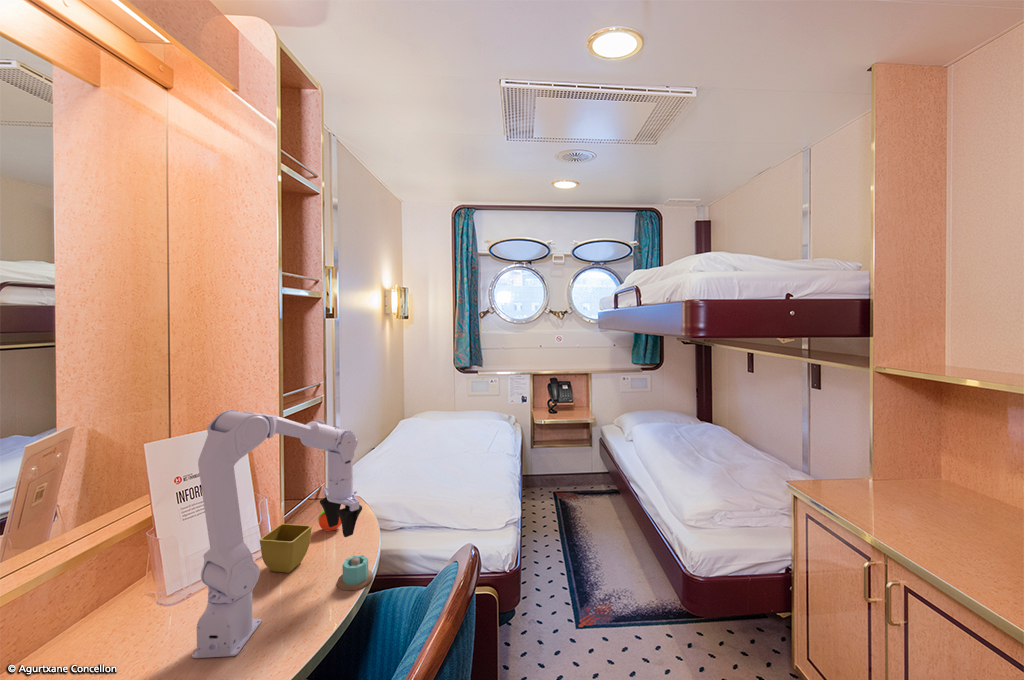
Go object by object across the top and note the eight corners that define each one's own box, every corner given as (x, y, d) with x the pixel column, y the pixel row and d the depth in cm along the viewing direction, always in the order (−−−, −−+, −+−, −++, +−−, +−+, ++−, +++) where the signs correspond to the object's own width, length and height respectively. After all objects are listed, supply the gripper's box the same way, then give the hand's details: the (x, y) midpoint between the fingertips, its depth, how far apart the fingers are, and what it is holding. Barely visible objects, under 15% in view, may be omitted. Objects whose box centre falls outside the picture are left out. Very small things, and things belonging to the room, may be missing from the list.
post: (368, 590, 97) (367, 568, 97) (332, 591, 97) (332, 570, 97) (376, 570, 105) (376, 550, 105) (343, 571, 105) (343, 551, 104)
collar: (364, 584, 98) (363, 567, 98) (340, 585, 98) (340, 568, 98) (369, 570, 104) (369, 555, 104) (347, 571, 103) (347, 555, 103)
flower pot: (313, 558, 110) (312, 525, 110) (292, 578, 102) (292, 541, 101) (281, 556, 111) (281, 523, 111) (258, 576, 103) (258, 539, 102)
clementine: (325, 539, 120) (325, 514, 120) (310, 533, 124) (310, 509, 124) (348, 527, 127) (348, 504, 127) (333, 522, 131) (333, 499, 131)
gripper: (370, 479, 103) (370, 534, 104) (341, 466, 113) (341, 516, 113) (343, 487, 98) (343, 545, 98) (314, 473, 107) (315, 525, 108)
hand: (340, 530), depth 105 cm, fingers open, 7 cm apart
